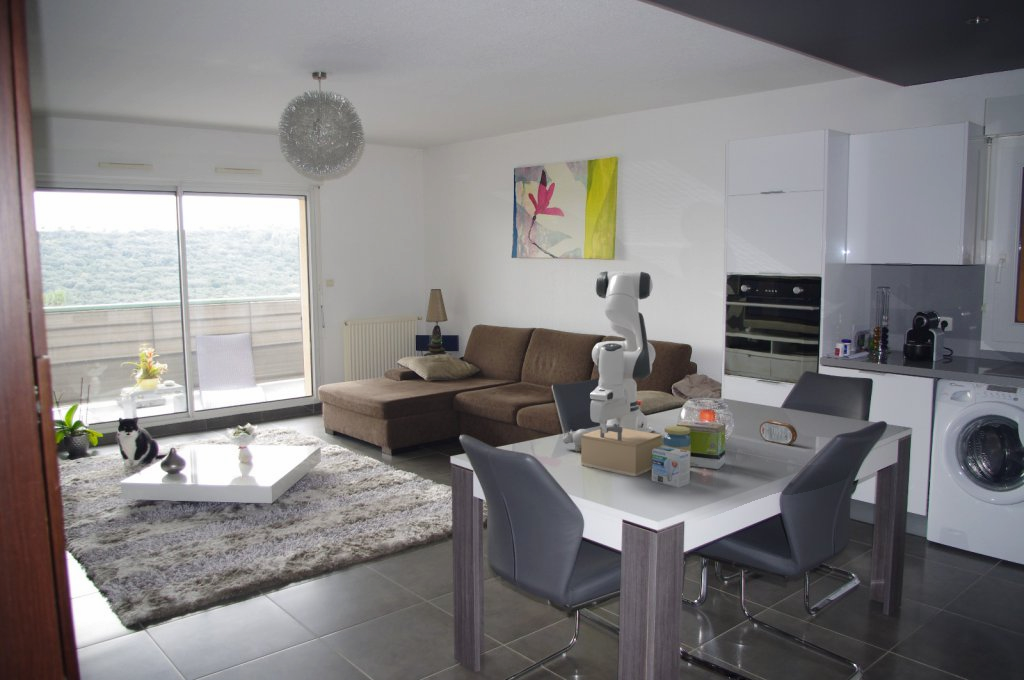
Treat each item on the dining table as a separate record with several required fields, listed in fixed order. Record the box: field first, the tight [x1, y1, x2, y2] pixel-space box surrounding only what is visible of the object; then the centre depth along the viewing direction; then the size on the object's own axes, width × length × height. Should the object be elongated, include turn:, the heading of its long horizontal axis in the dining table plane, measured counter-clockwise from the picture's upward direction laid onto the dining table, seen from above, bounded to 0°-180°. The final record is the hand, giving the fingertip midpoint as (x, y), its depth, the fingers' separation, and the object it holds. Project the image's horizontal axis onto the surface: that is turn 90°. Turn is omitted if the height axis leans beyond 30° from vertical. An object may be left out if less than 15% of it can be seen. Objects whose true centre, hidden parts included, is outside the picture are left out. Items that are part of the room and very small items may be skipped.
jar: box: [663, 425, 691, 455], centre depth 251 cm, size 9×9×15 cm
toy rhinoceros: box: [562, 428, 590, 453], centre depth 281 cm, size 7×12×8 cm, turn 57°
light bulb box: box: [651, 445, 691, 488], centre depth 240 cm, size 11×7×11 cm, turn 45°
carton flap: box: [581, 424, 663, 447], centre depth 259 cm, size 18×22×5 cm
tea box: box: [676, 419, 726, 470], centre depth 261 cm, size 15×10×15 cm, turn 59°
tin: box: [759, 419, 798, 446], centre depth 290 cm, size 15×3×8 cm, turn 40°
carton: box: [580, 436, 663, 477], centre depth 260 cm, size 18×22×10 cm
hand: (610, 430), depth 254 cm, fingers open, 6 cm apart
